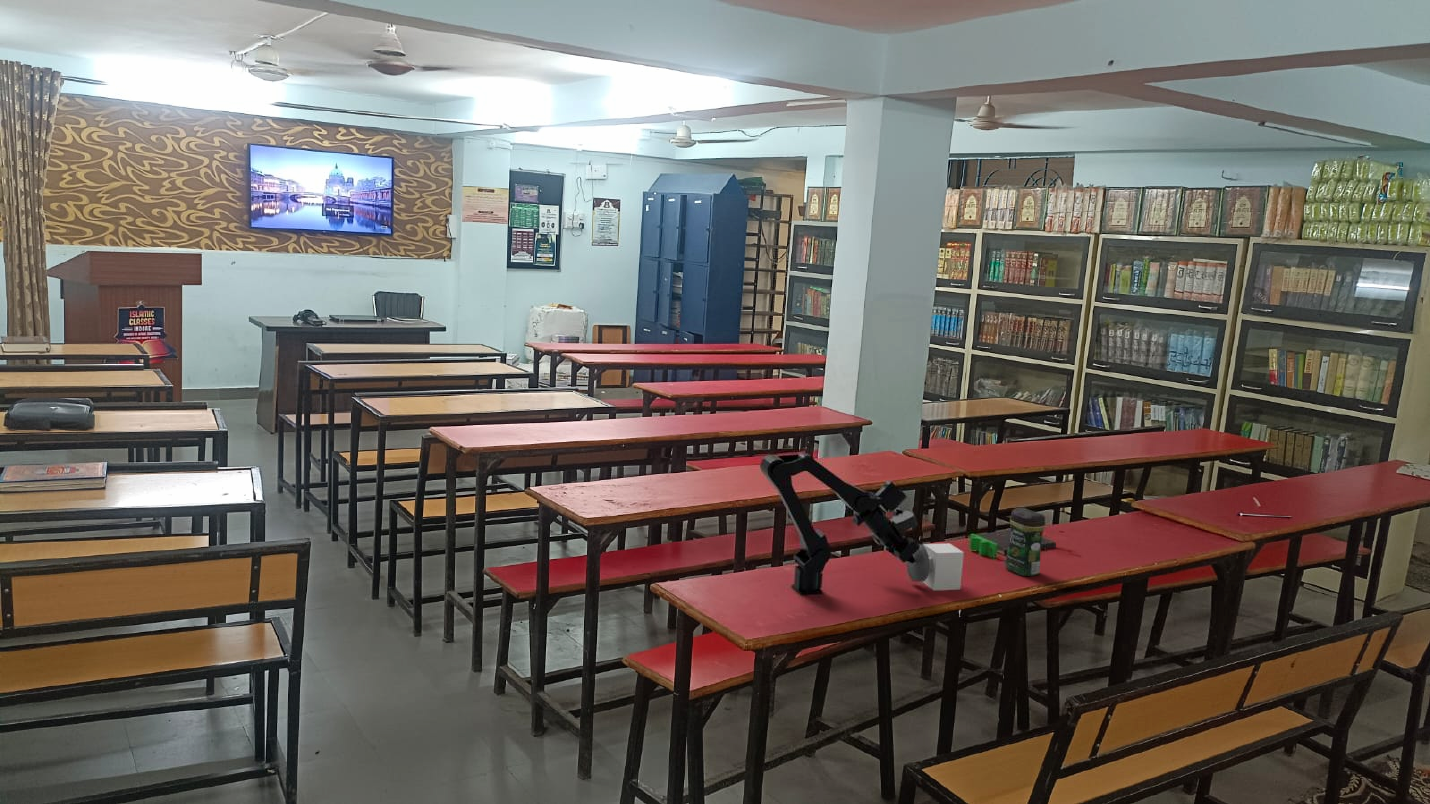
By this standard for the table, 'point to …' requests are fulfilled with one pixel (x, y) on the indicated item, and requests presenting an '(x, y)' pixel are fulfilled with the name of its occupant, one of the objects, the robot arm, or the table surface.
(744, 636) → the table surface
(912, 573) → the knob
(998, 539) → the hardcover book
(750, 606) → the table surface
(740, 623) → the table surface
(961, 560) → the block
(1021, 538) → the coffee jar
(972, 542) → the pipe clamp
